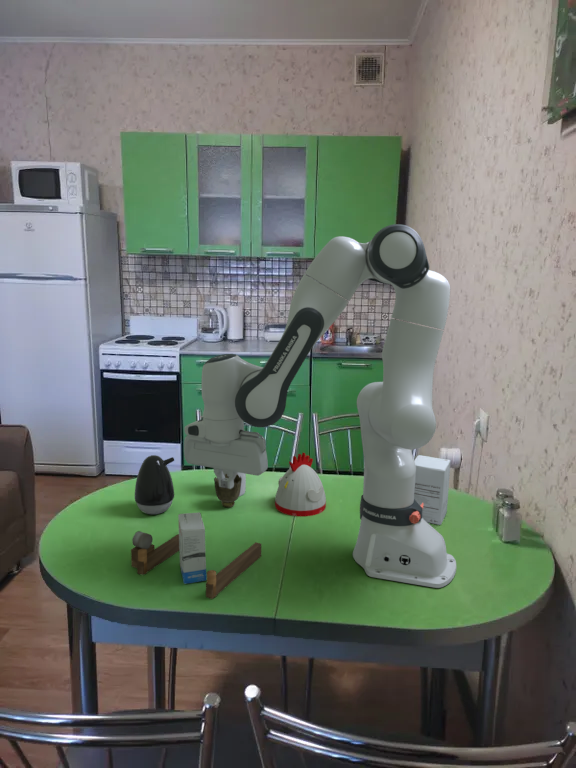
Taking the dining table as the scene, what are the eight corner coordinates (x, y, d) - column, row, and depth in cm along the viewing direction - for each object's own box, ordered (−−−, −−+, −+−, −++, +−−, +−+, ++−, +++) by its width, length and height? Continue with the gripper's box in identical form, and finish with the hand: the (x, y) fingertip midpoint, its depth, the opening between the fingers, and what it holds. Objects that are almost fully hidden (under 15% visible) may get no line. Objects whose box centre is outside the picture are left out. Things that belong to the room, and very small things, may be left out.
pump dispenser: (176, 516, 143) (175, 460, 139) (134, 520, 140) (132, 463, 137) (174, 501, 152) (173, 448, 149) (135, 504, 150) (133, 450, 147)
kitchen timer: (264, 504, 151) (265, 452, 148) (301, 491, 161) (302, 442, 158) (299, 521, 141) (301, 466, 138) (336, 507, 150) (338, 454, 147)
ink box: (206, 581, 113) (206, 528, 111) (182, 584, 112) (181, 531, 109) (201, 560, 121) (200, 510, 119) (178, 563, 120) (177, 513, 118)
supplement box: (414, 505, 152) (417, 454, 149) (447, 512, 148) (451, 459, 145) (406, 518, 144) (409, 464, 141) (440, 525, 140) (445, 470, 137)
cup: (244, 501, 153) (244, 473, 151) (239, 512, 146) (239, 483, 144) (217, 499, 154) (217, 472, 152) (211, 510, 147) (211, 482, 145)
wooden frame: (261, 556, 124) (262, 526, 122) (212, 599, 107) (212, 565, 106) (182, 533, 134) (182, 505, 132) (126, 569, 117) (125, 538, 116)
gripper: (272, 429, 119) (273, 489, 122) (195, 419, 129) (198, 475, 131) (257, 437, 114) (259, 500, 117) (178, 426, 123) (181, 484, 126)
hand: (226, 486), depth 124 cm, fingers closed
